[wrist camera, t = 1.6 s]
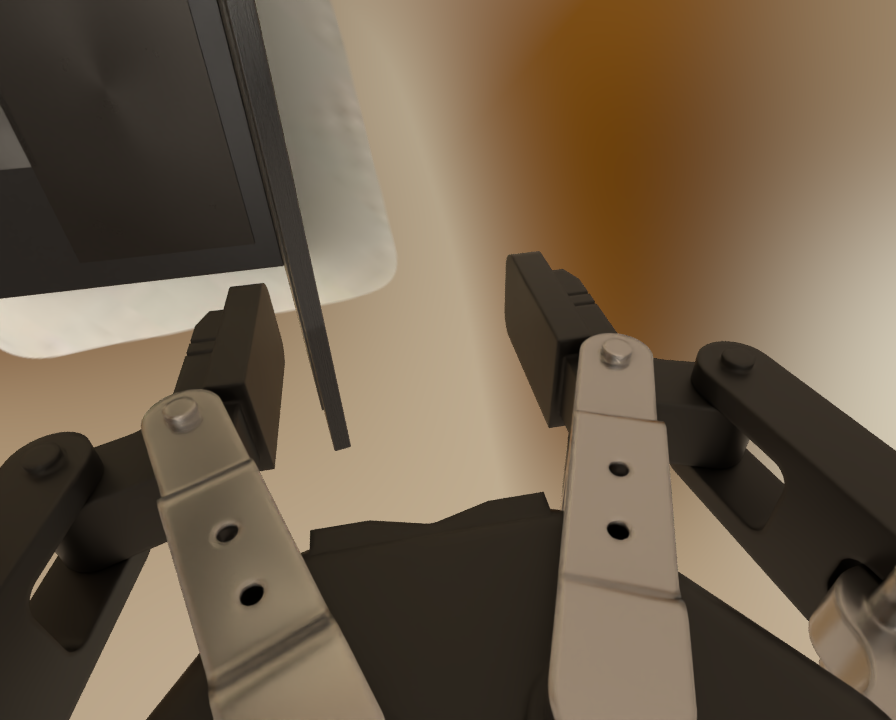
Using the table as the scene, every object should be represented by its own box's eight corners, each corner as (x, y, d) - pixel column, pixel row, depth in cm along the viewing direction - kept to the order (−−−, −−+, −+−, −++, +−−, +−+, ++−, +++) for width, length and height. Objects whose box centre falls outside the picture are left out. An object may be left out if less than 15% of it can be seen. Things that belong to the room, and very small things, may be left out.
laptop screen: (333, 452, 27) (351, 447, 27) (109, -453, 11) (158, -449, 11) (284, 266, 42) (296, 263, 42) (159, -234, 26) (179, -233, 26)
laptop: (9, 286, 41) (-2, 300, 40) (-295, -214, 25) (-334, -223, 24) (285, 255, 43) (284, 266, 42) (167, -226, 27) (158, -234, 26)
